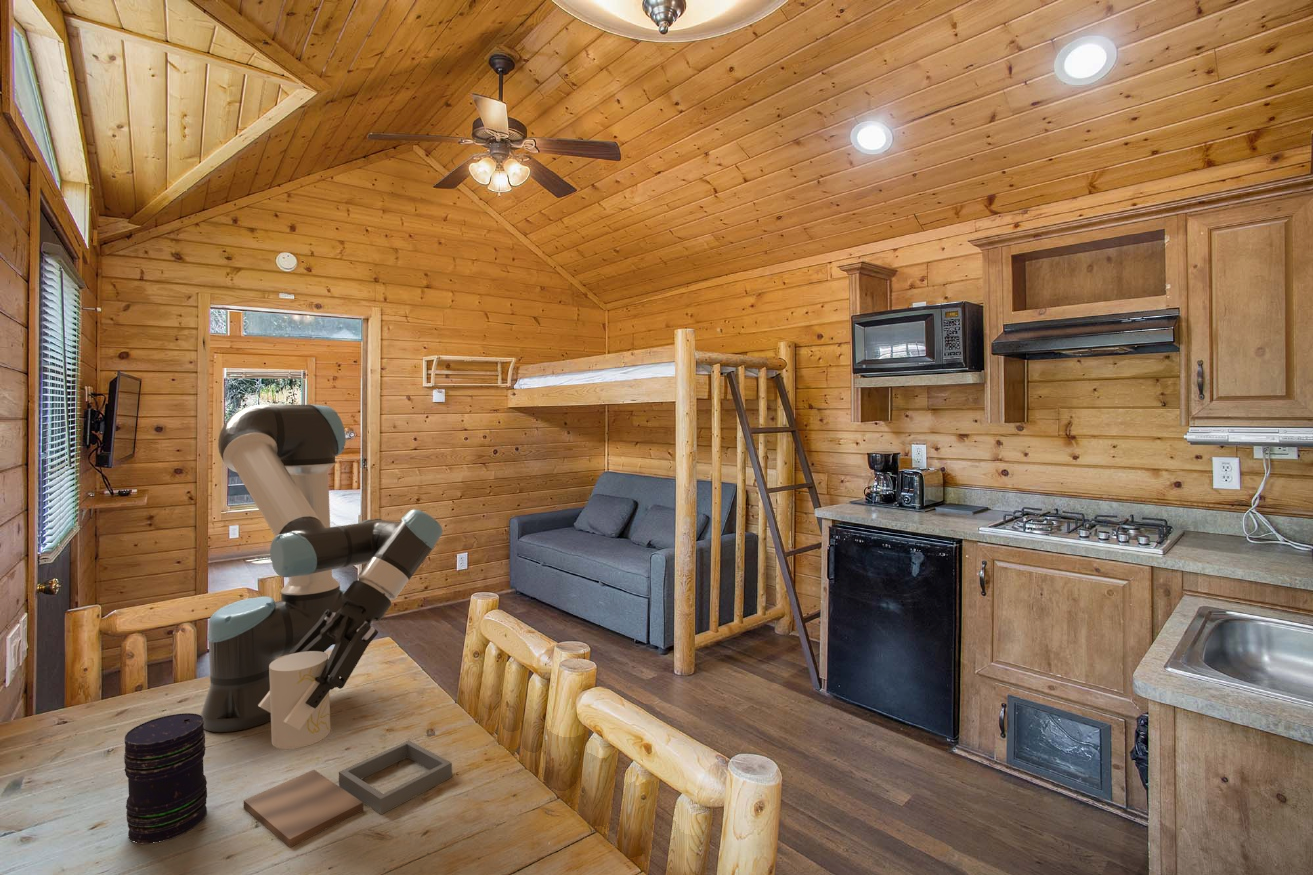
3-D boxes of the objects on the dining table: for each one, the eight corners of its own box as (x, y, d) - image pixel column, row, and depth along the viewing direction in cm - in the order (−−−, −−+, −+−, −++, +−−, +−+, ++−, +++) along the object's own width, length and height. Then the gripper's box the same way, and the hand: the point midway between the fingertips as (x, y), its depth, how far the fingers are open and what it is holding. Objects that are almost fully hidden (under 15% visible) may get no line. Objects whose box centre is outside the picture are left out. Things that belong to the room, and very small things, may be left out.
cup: (305, 751, 97) (302, 672, 97) (259, 746, 99) (256, 668, 99) (341, 725, 105) (339, 652, 105) (298, 721, 107) (296, 649, 107)
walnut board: (243, 807, 103) (243, 800, 103) (314, 776, 112) (314, 769, 112) (289, 847, 94) (289, 839, 94) (363, 809, 102) (362, 802, 102)
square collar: (339, 786, 109) (338, 771, 109) (409, 753, 119) (408, 740, 119) (381, 814, 101) (380, 799, 101) (452, 776, 111) (451, 762, 111)
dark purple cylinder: (143, 853, 93) (139, 751, 92) (115, 830, 98) (111, 733, 97) (220, 816, 101) (216, 722, 100) (190, 796, 106) (187, 707, 106)
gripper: (424, 612, 108) (329, 748, 95) (358, 592, 120) (267, 709, 108) (393, 588, 103) (290, 726, 91) (328, 569, 116) (230, 689, 103)
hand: (278, 717), depth 99 cm, fingers closed on cup, 8 cm apart
